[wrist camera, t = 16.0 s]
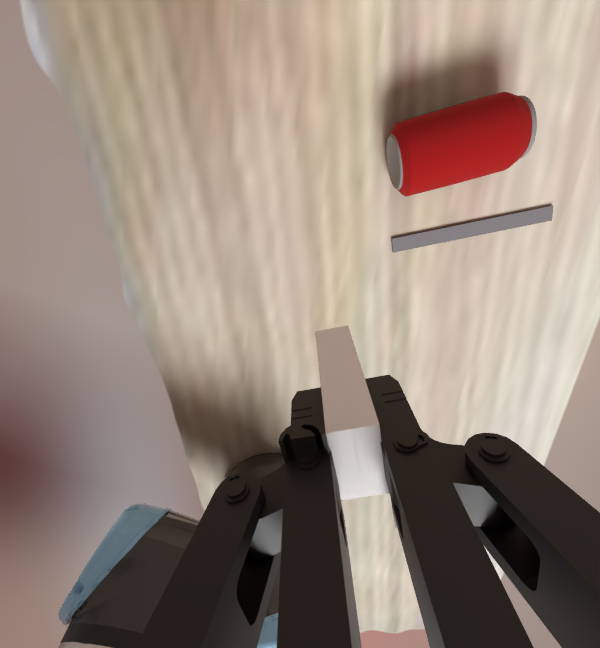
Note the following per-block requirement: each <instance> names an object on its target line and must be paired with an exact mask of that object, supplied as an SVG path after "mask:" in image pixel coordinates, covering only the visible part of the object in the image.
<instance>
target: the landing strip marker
mask: <svg viewBox="0 0 600 648" xmlns="http://www.w3.org/2000/svg"><path fill="white" fill-rule="evenodd" d="M552 213H553V206H547V207H542V208H537V209H532V210H527V211H522V212H518V213H513V214H508V215H503V216H498V217H493V218H488V219H484V220H479V221H474V222H469V223H464V224H459V225H454V226H450V227H445V228H440V229H435V230H430V231H425V232H420V233H416V234H411V235H406V236H401V237H396V238H391V239H392V250H393V252H398V251H403V250H408V249H413V248H418V247H423V246H427V245H432V244H437V243H442V242H447V241H452V240H457V239H462V238H467V237H472V236H477V235H482V234H487V233H492V232H497V231H501V230H506V229H511V228H516V227H521V226H526V225H531V224H536V223H541V222H546V221H551V220H552Z"/></svg>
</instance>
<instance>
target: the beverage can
mask: <svg viewBox="0 0 600 648" xmlns="http://www.w3.org/2000/svg"><path fill="white" fill-rule="evenodd" d="M536 129H537V118H536V112H535V108H534V106H533V104H532V102H531V101H530V99H529V98H527V97H526V96H516V95H513V94H510V93H507V92H501V93H497V94H494V95H490V96H487V97H483V98H479V99H476V100H472V101H469V102H465V103H462V104H458V105H455V106H452V107H448V108H445V109H441V110H438V111H435V112H431V113H428V114H424V115H421V116H418V117H415V118H411V119H408V120H405V121H402V122H398V123H396V124H395V125H394V127H393V129H392V131H391V134H390V136H389V137H388V139H387V145H386V158H387V166H388V171H389V176H390V179H391V182H392V184H393V186H394V187H395V188H396V189H397V190H398V191H399V192H400V193H401V194H402V195H404V196H410V195H414V194H417V193H421V192H425V191H429V190H433V189H437V188H441V187H445V186H448V185H452V184H456V183H460V182H463V181H467V180H471V179H474V178H478V177H482V176H485V175H489V174H492V173H496V172H500V171H503V170H506V169H507V168H509V167H510V166H511V165H513V164H514V163H515V162H516V161H517V160H518V159H520V158H522V157H524V156H525V155H526V154H527V153H528V152H529V150H530V149H531V147H532V145H533V142H534V139H535V135H536Z"/></svg>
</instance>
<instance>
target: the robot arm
mask: <svg viewBox="0 0 600 648" xmlns="http://www.w3.org/2000/svg"><path fill="white" fill-rule="evenodd" d="M315 333H316V343H317V352H318V362H319V372H320V382H321V388H315V389H310V390H304V391H298V392H297V393H296V395H295V396H294V398H293V400H292V408H291V411H292V412H291V426H289V427H288V428H286V429H285V430H284V431H283V433H282V434H281V435H280V438H279V445H280V448H281V451H282V455H281V454H263V455H258V456H254V457H251V458H249V459H247V460H245V461H243V462H242V463H240V464H239V465H238V466H237V467H236V468H235V469H234V470H233V471H232V473H231V475H230V476H229V477H227V478H226V479H225V480H224V481H222V482H221V484H220V485H219V486H218V488H217V489H216V491H215V493H214V495H213V497H212V498H211V500H210V502H209V504H208V506H207V508H206V510H205V512H204V514H203V516H202V518H201V520H200V521H199V520H196V519H193V518H191V517H188V516H185V515H182V514H179V513H176V512H174V511H171V509H169V508H166V509H164V508H159V507H156V506H152V505H148V504H145V503H138V504H134V505H132V506H130V507H129V508H127V509H126V510H125V511H124V512H123V513H122V514H121V515H120V517H119V518H118V519H117V521H116V522H115V523H114V525H113V526H112V528H111V529H110V530H109V532H108V533H107V535H106V536H105V538H104V539H103V541H102V542H101V543H100V545H99V546H98V548H97V549H96V551H95V553H94V554H93V556H92V557H91V559H90V560H89V562H88V563H87V565H86V567H85V568H84V570H83V571H82V573H81V575H80V576H79V579H78V581H77V582H76V583H75V585H74V587H73V589H72V590H71V592H70V593H69V594H68V596H67V598H66V599H65V601H64V603H63V605H62V607H61V609H60V611H59V619H60V620H61V621H62V623H63V624H64V625H67V624H69V623H70V624H69V627H68V629H67V631H66V633H65V635H64V637H63V639H62V641H61V643H60V645H59V647H58V648H361V640H360V632H359V625H358V617H357V610H356V602H355V595H354V587H353V580H352V572H351V565H350V557H349V550H348V542H347V535H346V527H345V520H344V514H343V510H342V505H341V500H346V499H353V498H360V497H367V496H374V495H380V494H387V493H389V492H390V496H391V501H392V508H393V516H394V523H395V527H397V528H398V531H399V535H400V539H401V542H402V546H403V549H404V553H405V557H406V560H407V564H408V568H409V571H410V575H411V579H412V582H413V586H414V590H415V593H416V597H417V601H418V604H419V608H420V612H421V615H422V619H423V623H424V626H425V630H426V633H427V637H428V641H429V645H430V648H533V646H532V644H531V642H530V640H529V637H528V635H527V633H526V631H525V629H524V627H523V626H522V623H521V621H520V619H519V617H518V615H517V613H516V611H515V609H514V607H513V605H512V603H511V601H510V599H509V597H508V595H507V593H506V591H505V589H504V586H503V584H502V582H501V580H500V578H499V576H498V574H497V572H496V570H495V568H494V566H493V564H492V562H491V560H490V558H489V556H488V554H487V552H486V550H485V548H486V549H487V550H488V551H489V553H490V554H491V555H492V557H493V558H494V559H495V561H496V562H497V563H498V565H499V566H500V567H501V568H502V570H503V571H504V572H505V574H506V575H507V576H508V578H509V579H510V580H511V582H512V583H513V584H514V585H515V587H516V588H517V589H518V591H519V592H520V593H521V595H522V596H523V597H524V599H525V600H526V601H527V602H528V604H529V605H530V606H531V608H532V609H533V610H534V612H535V613H536V614H537V616H538V617H539V618H540V619H541V621H542V622H543V623H544V625H545V626H546V627H547V629H548V630H549V631H550V632H551V634H552V635H553V636H554V638H555V639H556V640H557V642H558V643H559V644H560V645H561V647H562V648H600V513H599V512H598V511H597V510H596V509H595V508H593V507H592V506H591V505H590V504H588V503H587V502H586V501H585V500H584V499H582V498H581V497H580V496H579V495H577V494H576V493H575V492H574V491H573V490H572V489H570V488H569V487H568V486H567V485H565V484H564V483H563V482H562V481H561V480H560V479H558V478H557V477H556V476H555V475H553V474H552V473H551V472H550V471H549V470H547V469H546V468H545V467H544V466H543V465H542V464H540V463H539V462H538V461H537V460H536V459H534V458H533V457H532V456H531V455H530V454H528V453H527V452H526V451H525V450H524V449H522V448H521V447H520V446H519V445H518V444H516V443H515V442H513V441H512V440H510V439H508V438H507V437H504V436H501V435H498V434H493V433H481V434H476V435H474V436H472V437H471V438H469V439H468V440H467V442H466V444H465V446H463V445H452V444H445V443H441V442H438V441H435V440H433V439H431V438H430V437H429V436H428V435H427V434H426V433H425V432H423V431H422V430H421V428H420V427H419V424H418V422H417V420H416V418H415V416H414V414H413V412H412V410H411V408H410V405H409V403H408V401H407V400H406V397H405V395H404V393H403V391H402V388H401V386H400V384H399V382H398V381H397V380H395V379H394V378H393V377H391V376H390V375H385V376H379V377H374V378H368V379H365V378H364V374H363V371H362V368H361V365H360V362H359V359H358V356H357V352H356V349H355V346H354V343H353V340H352V337H351V333H350V330H349V327H348V326H343V327H337V328H332V329H327V330H321V331H316V332H315ZM483 545H484V546H485V548H484V546H483Z"/></svg>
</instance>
